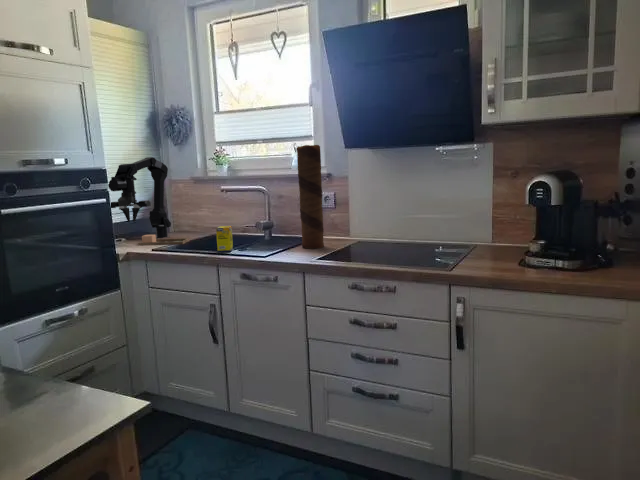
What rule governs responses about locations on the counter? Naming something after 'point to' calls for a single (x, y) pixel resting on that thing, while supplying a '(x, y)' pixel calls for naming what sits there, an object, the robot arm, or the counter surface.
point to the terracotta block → (148, 238)
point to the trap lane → (167, 242)
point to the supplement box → (224, 239)
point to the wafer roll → (310, 195)
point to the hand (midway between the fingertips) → (131, 221)
